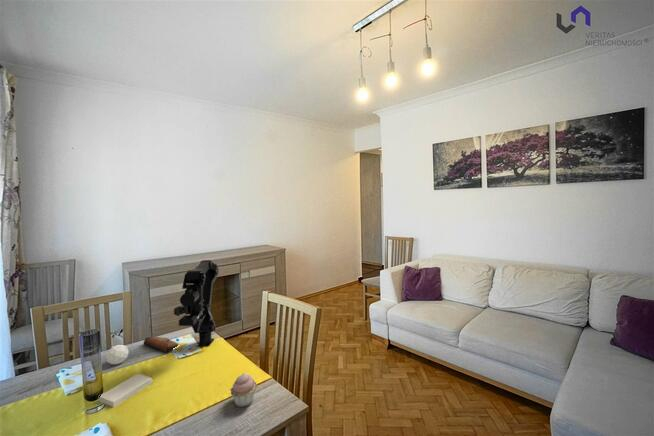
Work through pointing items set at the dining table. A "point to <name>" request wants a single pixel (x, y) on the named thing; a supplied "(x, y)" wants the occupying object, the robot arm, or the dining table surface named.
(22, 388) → the dining table surface
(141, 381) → the wooden block
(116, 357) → the geometric ball
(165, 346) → the sunglasses case
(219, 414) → the dining table surface
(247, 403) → the cupcake
